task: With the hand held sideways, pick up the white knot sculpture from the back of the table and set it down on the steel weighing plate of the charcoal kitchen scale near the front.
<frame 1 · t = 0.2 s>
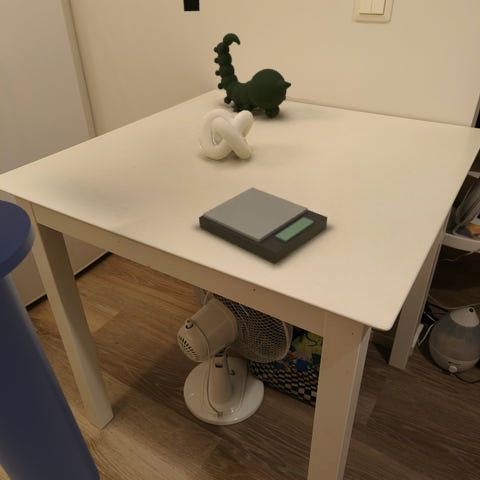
hand: (192, 8, 83), 27 cm above the table, tool pointing down, fingers open, 13 cm apart
scale: (262, 227, 73), on the table
toy figurine: (253, 112, 119), on the table
white knot sculpture: (232, 154, 98), on the table
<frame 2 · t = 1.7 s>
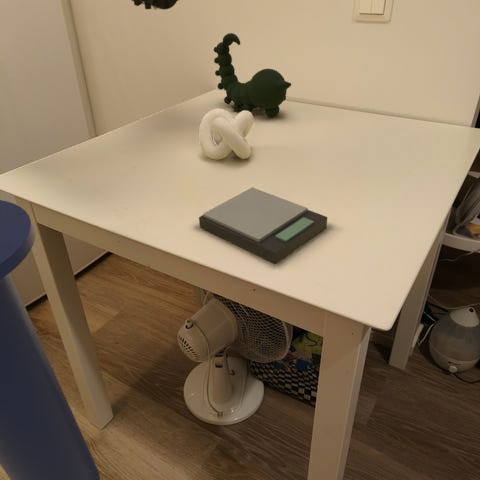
nothing on the table moved.
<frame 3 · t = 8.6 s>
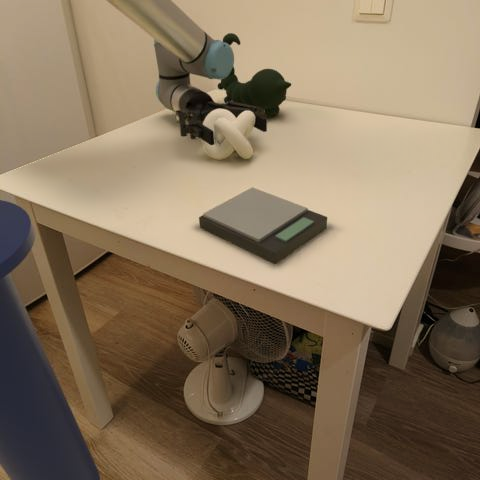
hand: (239, 131, 91), 6 cm above the table, tool horizontal, fingers closed on white knot sculpture, 12 cm apart
white knot sculpture: (234, 154, 98), on the table, touching gripper
everything else where it was.
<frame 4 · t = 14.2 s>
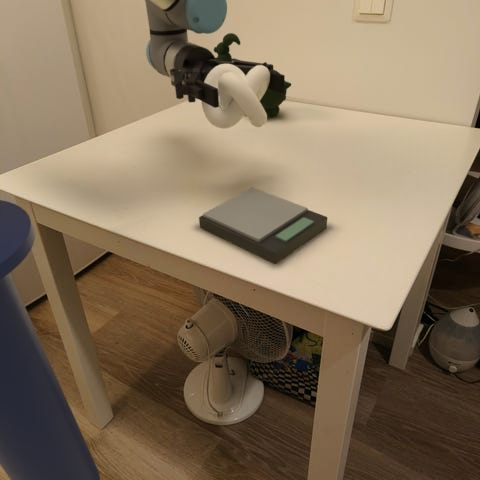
hand: (250, 91, 72), 18 cm above the table, tool horizontal, fingers closed on white knot sculpture, 12 cm apart
white knot sculpture: (242, 123, 78), point 12 cm above the table, touching gripper
everything else where it was.
when the fingers open (9 cm above the table, at t = 19.9 s): white knot sculpture stays where it is, resting on scale.
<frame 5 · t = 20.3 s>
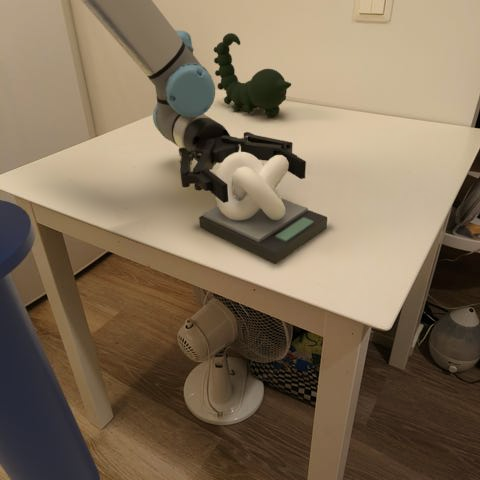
hand: (266, 181, 66), 9 cm above the table, tool horizontal, fingers open, 13 cm apart
white knot sculpture: (258, 211, 73), point 2 cm above the table, touching scale
everything else where it was.
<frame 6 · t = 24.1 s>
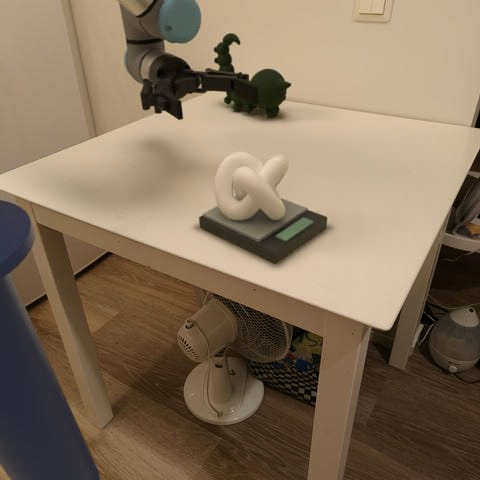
hand: (219, 102, 71), 17 cm above the table, tool horizontal, fingers open, 13 cm apart
nothing on the table moved.
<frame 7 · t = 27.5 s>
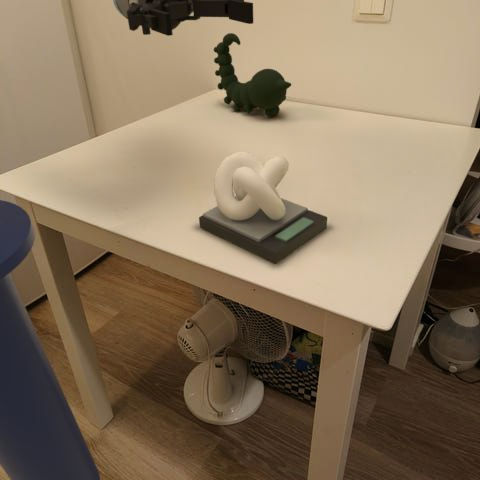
hand: (211, 18, 66), 28 cm above the table, tool horizontal, fingers open, 13 cm apart
nothing on the table moved.
at the end: white knot sculpture inside the target area on the scale (0.5 cm from its centre), point 2.4 cm above the scale's base; the gripper is holding nothing; white knot sculpture tilted 0° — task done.
